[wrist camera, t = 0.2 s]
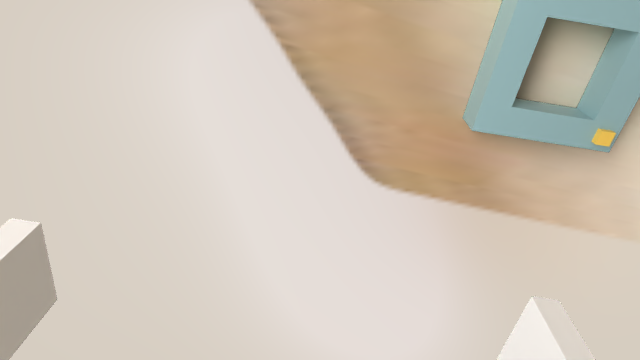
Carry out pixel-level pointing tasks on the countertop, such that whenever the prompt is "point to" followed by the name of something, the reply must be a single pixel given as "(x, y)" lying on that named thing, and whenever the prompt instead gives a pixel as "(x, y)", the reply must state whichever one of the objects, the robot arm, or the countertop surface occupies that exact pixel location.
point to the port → (548, 119)
